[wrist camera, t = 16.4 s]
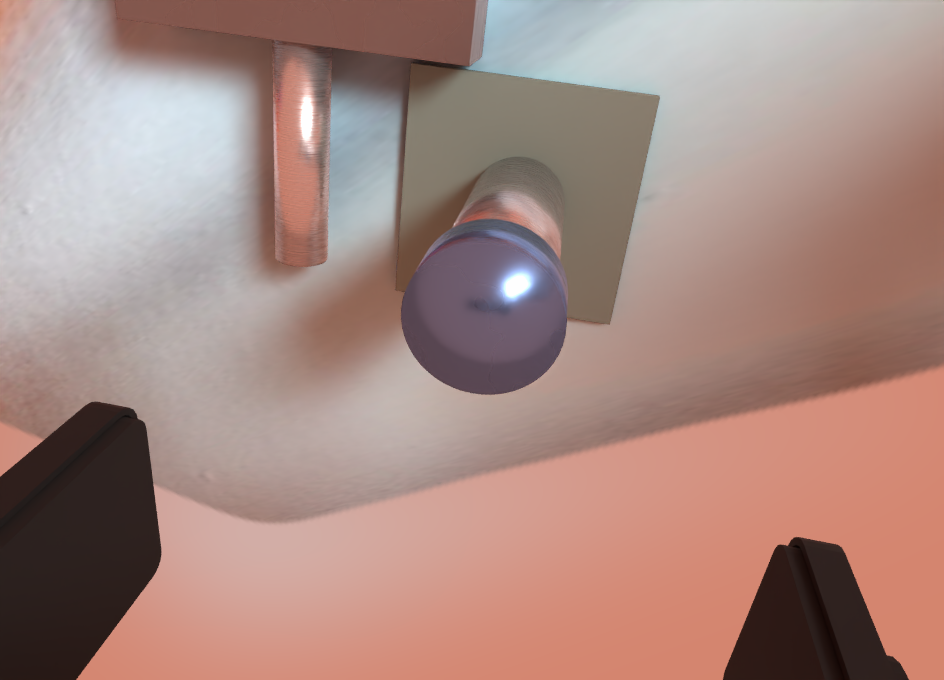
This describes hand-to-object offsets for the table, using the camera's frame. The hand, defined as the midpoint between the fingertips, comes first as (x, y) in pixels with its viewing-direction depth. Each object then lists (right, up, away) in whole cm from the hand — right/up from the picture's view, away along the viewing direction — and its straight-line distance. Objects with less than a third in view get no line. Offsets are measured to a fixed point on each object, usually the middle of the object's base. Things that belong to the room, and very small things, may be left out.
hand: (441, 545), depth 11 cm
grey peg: (+2, +8, +17) cm, 19 cm away
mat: (+2, +9, +18) cm, 20 cm away
